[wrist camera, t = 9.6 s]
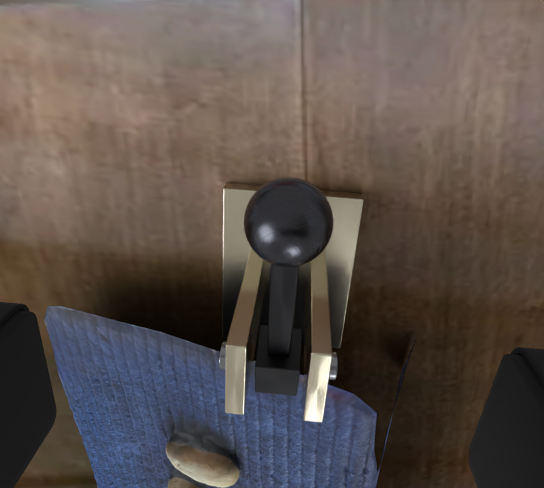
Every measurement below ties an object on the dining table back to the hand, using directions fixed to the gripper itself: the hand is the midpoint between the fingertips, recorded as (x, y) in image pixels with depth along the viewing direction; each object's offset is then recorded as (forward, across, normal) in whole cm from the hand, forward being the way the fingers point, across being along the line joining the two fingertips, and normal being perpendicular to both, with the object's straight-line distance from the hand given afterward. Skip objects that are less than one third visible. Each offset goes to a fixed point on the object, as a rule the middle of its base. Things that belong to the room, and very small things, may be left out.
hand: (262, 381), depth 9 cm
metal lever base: (+21, 0, +9) cm, 23 cm away
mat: (+22, +3, +34) cm, 40 cm away
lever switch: (+11, 0, +4) cm, 12 cm away
